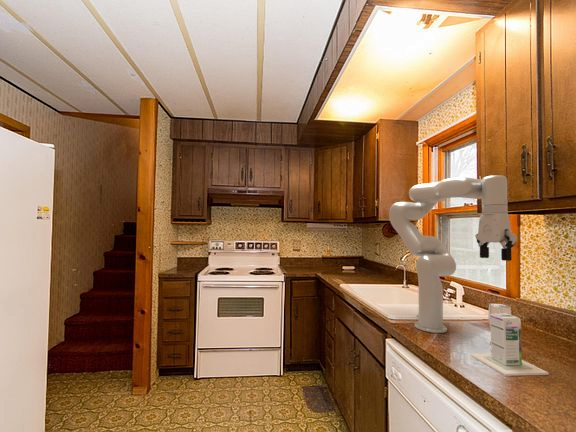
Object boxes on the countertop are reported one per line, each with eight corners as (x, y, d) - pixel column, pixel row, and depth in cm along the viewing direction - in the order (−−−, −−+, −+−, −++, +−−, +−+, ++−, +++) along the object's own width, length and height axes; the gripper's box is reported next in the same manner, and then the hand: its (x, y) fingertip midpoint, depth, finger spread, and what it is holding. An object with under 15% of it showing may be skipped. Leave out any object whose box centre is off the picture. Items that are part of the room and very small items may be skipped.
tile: (470, 355, 100) (470, 353, 100) (508, 355, 102) (508, 352, 102) (505, 375, 86) (505, 373, 86) (548, 374, 88) (548, 371, 88)
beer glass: (489, 342, 114) (489, 302, 115) (512, 346, 109) (511, 305, 110) (487, 347, 108) (487, 305, 109) (511, 352, 104) (510, 308, 105)
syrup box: (505, 366, 91) (504, 317, 92) (490, 357, 97) (489, 312, 98) (522, 365, 92) (521, 317, 92) (506, 357, 97) (505, 312, 98)
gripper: (467, 211, 114) (467, 256, 113) (504, 208, 97) (505, 261, 96) (485, 212, 115) (485, 257, 114) (526, 209, 98) (526, 261, 97)
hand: (494, 259), depth 105 cm, fingers open, 9 cm apart
